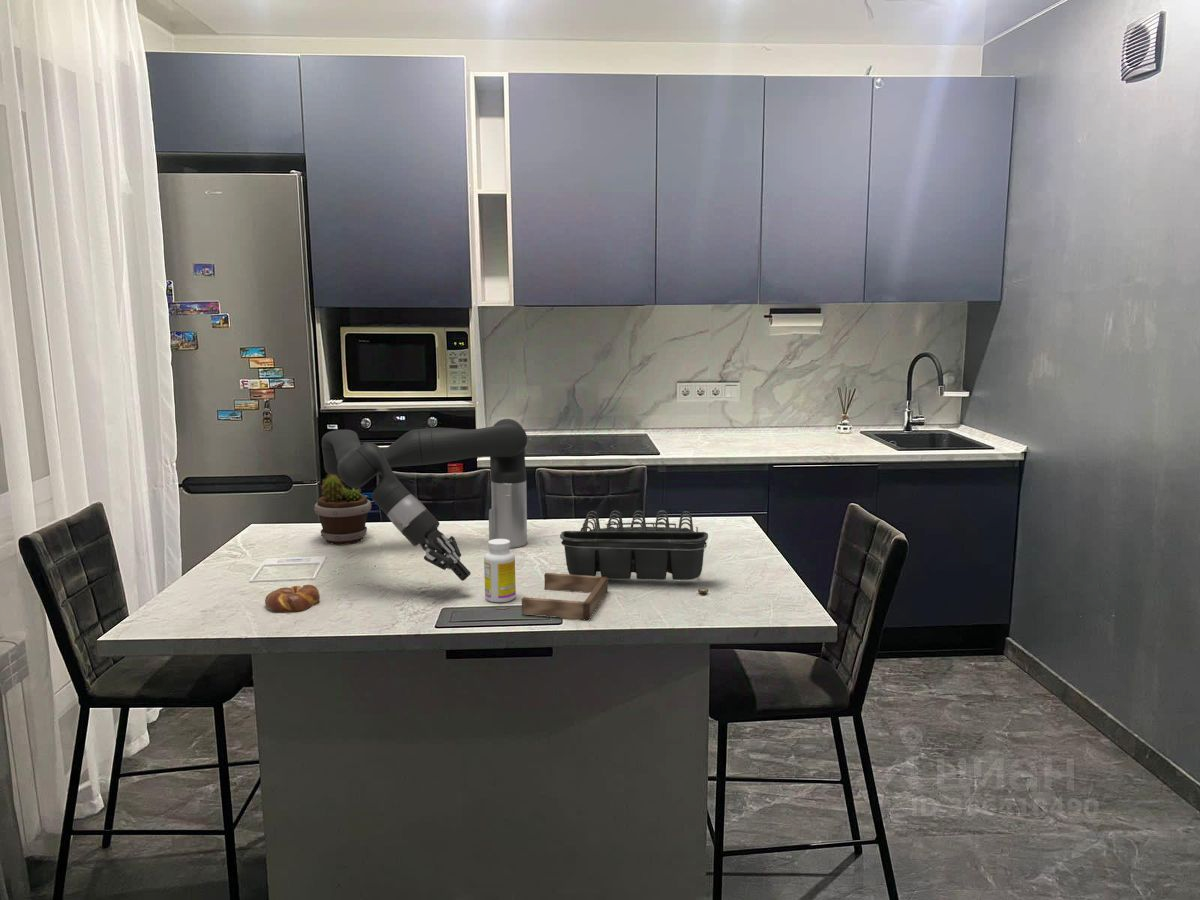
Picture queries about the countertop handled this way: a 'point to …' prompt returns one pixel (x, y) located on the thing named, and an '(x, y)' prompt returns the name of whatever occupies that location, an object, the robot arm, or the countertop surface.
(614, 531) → the dish rack
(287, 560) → the photo frame
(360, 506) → the flowerpot
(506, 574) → the supplement bottle
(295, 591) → the pretzel
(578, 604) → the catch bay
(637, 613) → the countertop surface
